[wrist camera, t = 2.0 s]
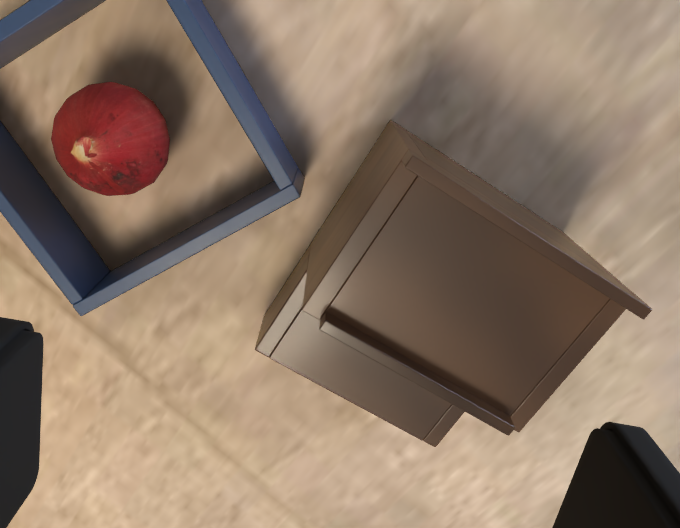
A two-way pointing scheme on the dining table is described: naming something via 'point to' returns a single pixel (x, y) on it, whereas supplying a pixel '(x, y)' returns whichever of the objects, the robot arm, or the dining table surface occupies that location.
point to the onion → (110, 139)
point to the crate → (56, 224)
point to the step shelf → (439, 297)
